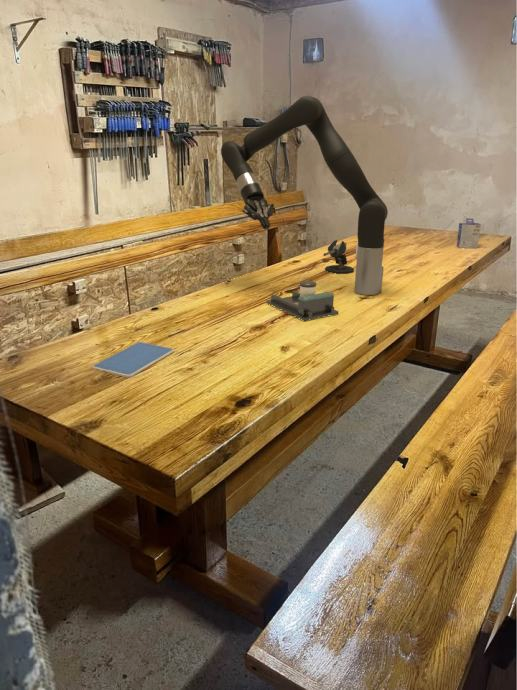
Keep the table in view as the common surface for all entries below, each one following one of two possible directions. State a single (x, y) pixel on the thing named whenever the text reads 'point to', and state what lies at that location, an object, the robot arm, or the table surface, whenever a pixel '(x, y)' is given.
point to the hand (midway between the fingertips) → (267, 227)
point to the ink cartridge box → (468, 234)
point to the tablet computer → (133, 359)
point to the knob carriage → (307, 288)
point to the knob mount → (305, 305)
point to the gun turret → (338, 259)
